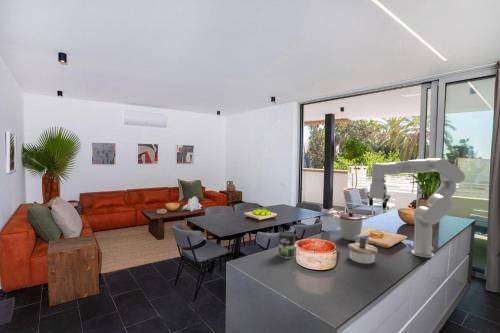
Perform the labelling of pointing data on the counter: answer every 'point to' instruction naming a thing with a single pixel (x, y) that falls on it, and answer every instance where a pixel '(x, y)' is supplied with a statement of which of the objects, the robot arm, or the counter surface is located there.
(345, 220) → the canister
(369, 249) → the oak lid
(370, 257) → the cream bowl
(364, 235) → the medicine box
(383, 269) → the counter surface
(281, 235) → the coffee can
